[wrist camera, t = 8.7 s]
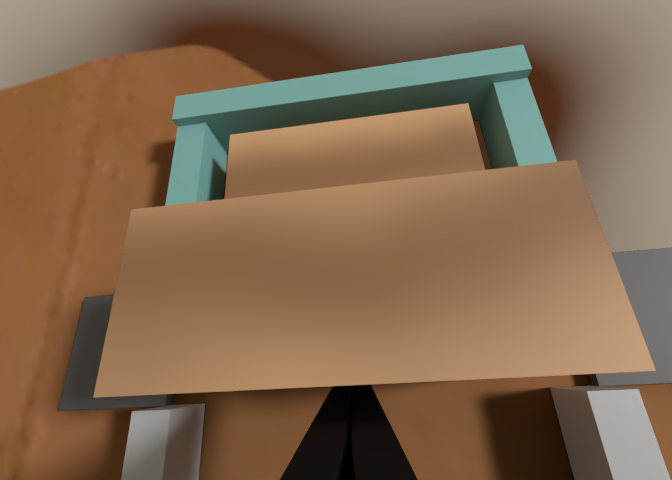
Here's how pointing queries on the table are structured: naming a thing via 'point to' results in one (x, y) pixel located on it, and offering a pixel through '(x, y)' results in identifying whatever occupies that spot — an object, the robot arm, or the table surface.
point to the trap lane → (504, 151)
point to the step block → (368, 268)
